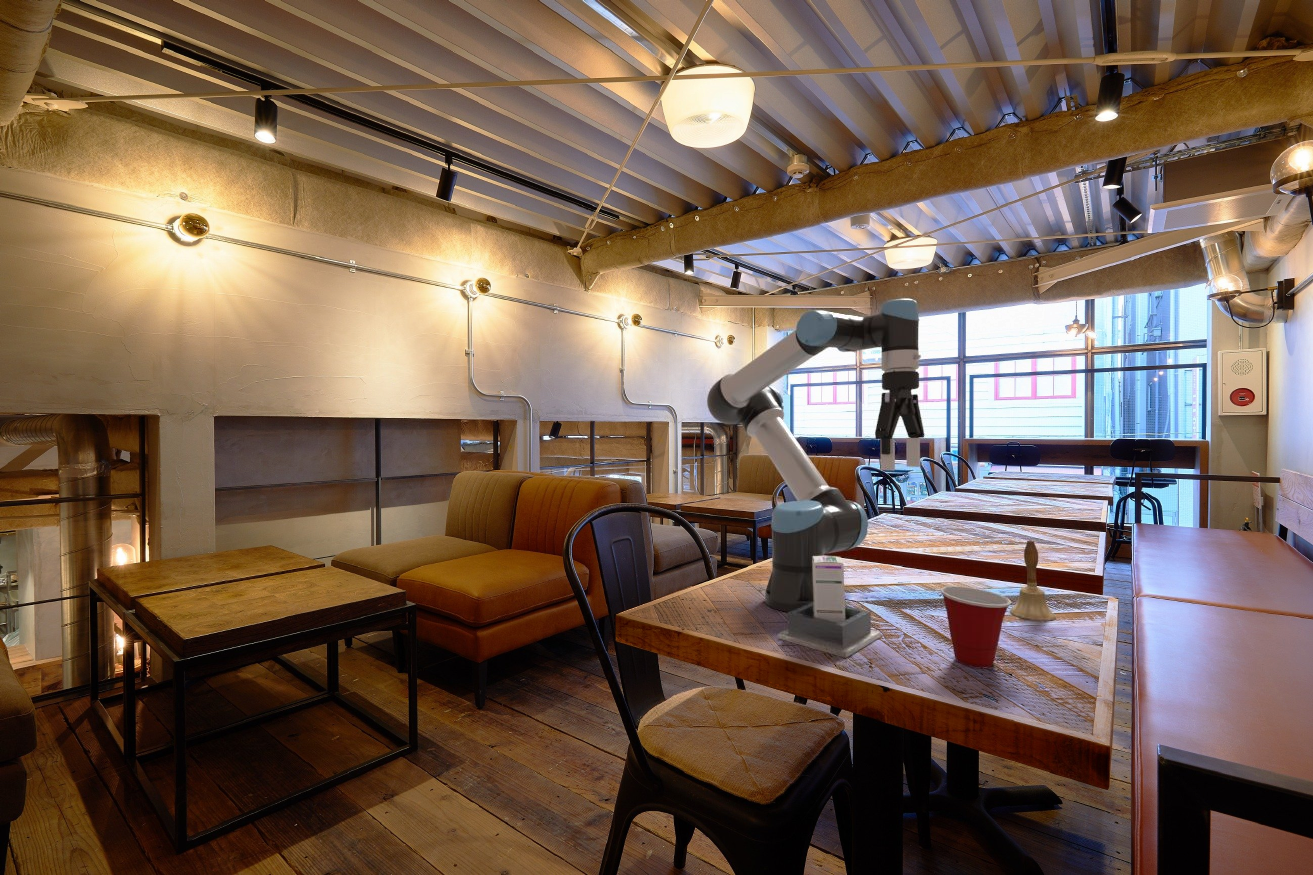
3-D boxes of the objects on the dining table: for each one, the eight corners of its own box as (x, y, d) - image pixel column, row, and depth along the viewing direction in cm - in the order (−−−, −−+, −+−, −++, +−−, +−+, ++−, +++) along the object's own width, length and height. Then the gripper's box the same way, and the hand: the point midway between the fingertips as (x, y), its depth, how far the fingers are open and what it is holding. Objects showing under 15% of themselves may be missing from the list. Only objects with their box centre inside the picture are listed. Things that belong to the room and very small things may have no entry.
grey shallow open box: (778, 638, 112) (778, 612, 112) (815, 620, 122) (815, 597, 122) (846, 657, 102) (845, 629, 102) (880, 637, 112) (880, 611, 112)
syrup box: (846, 639, 108) (845, 562, 108) (813, 637, 110) (813, 561, 109) (843, 628, 114) (842, 555, 114) (812, 626, 115) (811, 554, 115)
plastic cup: (1023, 676, 94) (1023, 603, 93) (952, 673, 95) (952, 600, 95) (995, 651, 104) (995, 585, 104) (932, 648, 106) (932, 583, 106)
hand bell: (1039, 623, 118) (1039, 546, 118) (1001, 612, 126) (1000, 539, 126) (1064, 617, 122) (1064, 542, 122) (1025, 606, 129) (1025, 536, 129)
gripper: (893, 366, 115) (894, 472, 115) (938, 373, 132) (939, 465, 132) (857, 369, 120) (858, 471, 120) (905, 376, 137) (906, 464, 138)
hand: (901, 468), depth 126 cm, fingers open, 13 cm apart
